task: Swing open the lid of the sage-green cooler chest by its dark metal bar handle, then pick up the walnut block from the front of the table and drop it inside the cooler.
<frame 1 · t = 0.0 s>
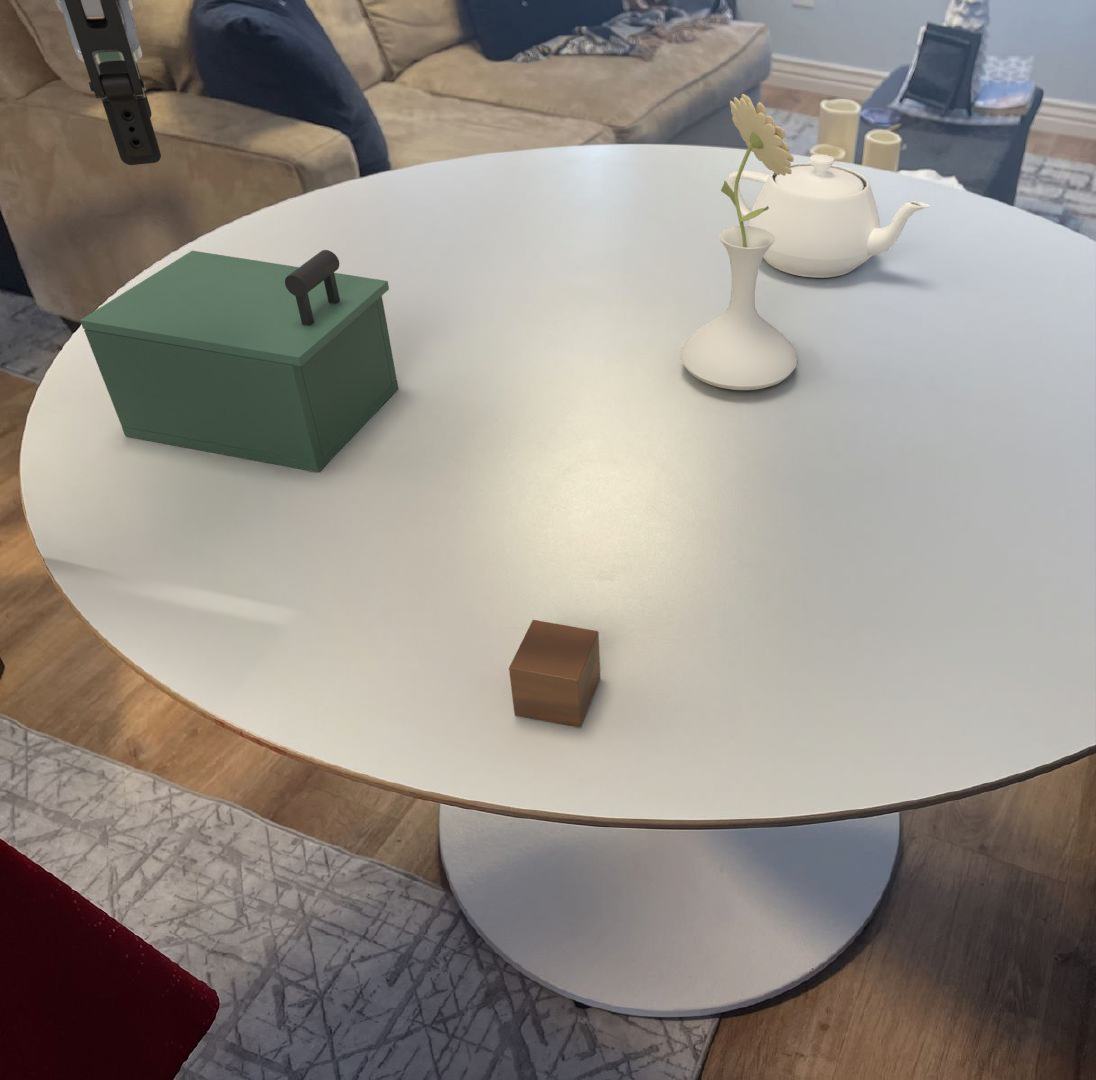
hand: (138, 140, 64), 27 cm above the table, tool pointing down, fingers open, 8 cm apart
teapot: (816, 263, 120), on the table
block: (558, 696, 65), on the table
flower in vase: (735, 369, 99), on the table
cooler: (268, 411, 89), on the table
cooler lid: (235, 279, 81), point 13 cm above the table, hinge at 0.0°
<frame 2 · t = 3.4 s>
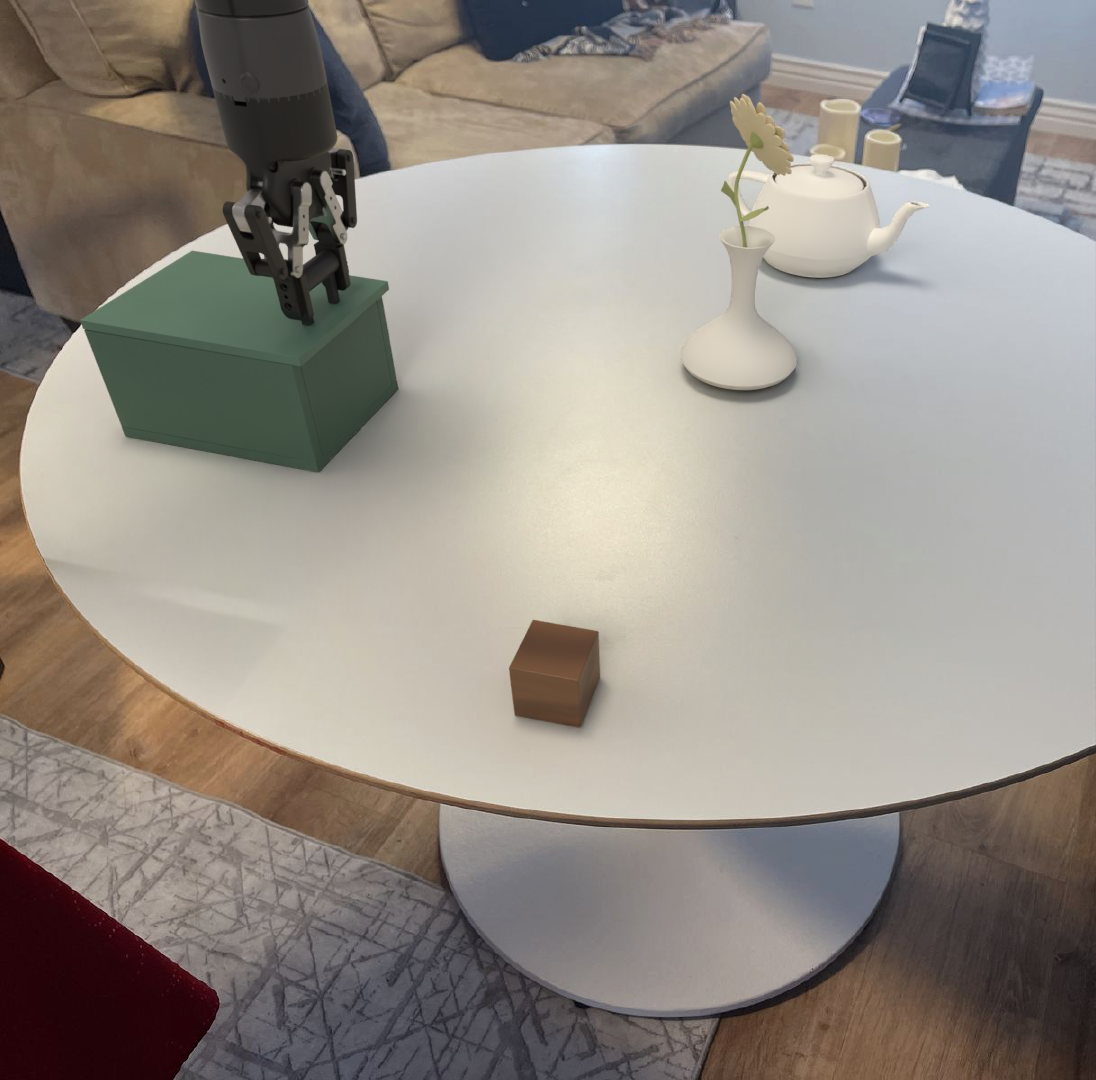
hand: (318, 301, 80), 12 cm above the table, tool pointing down, fingers closed on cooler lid, 5 cm apart
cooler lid: (235, 279, 81), point 13 cm above the table, hinge at -0.1°, touching gripper
everything else where it was.
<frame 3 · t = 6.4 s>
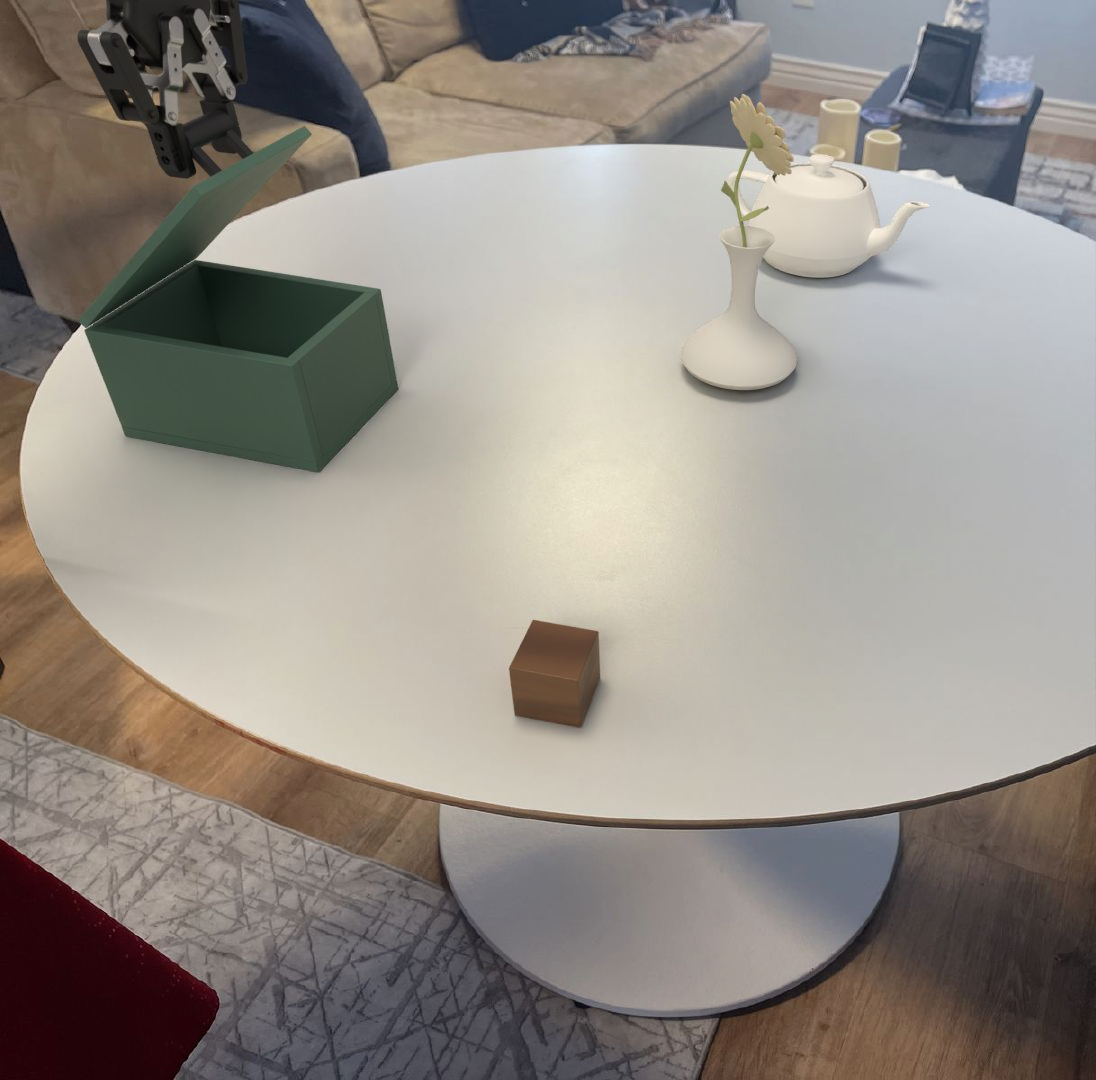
hand: (205, 162, 75), 22 cm above the table, tool pointing down, fingers closed on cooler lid, 5 cm apart
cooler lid: (173, 204, 78), point 18 cm above the table, hinge at 41.4°, touching gripper
everything else where it was.
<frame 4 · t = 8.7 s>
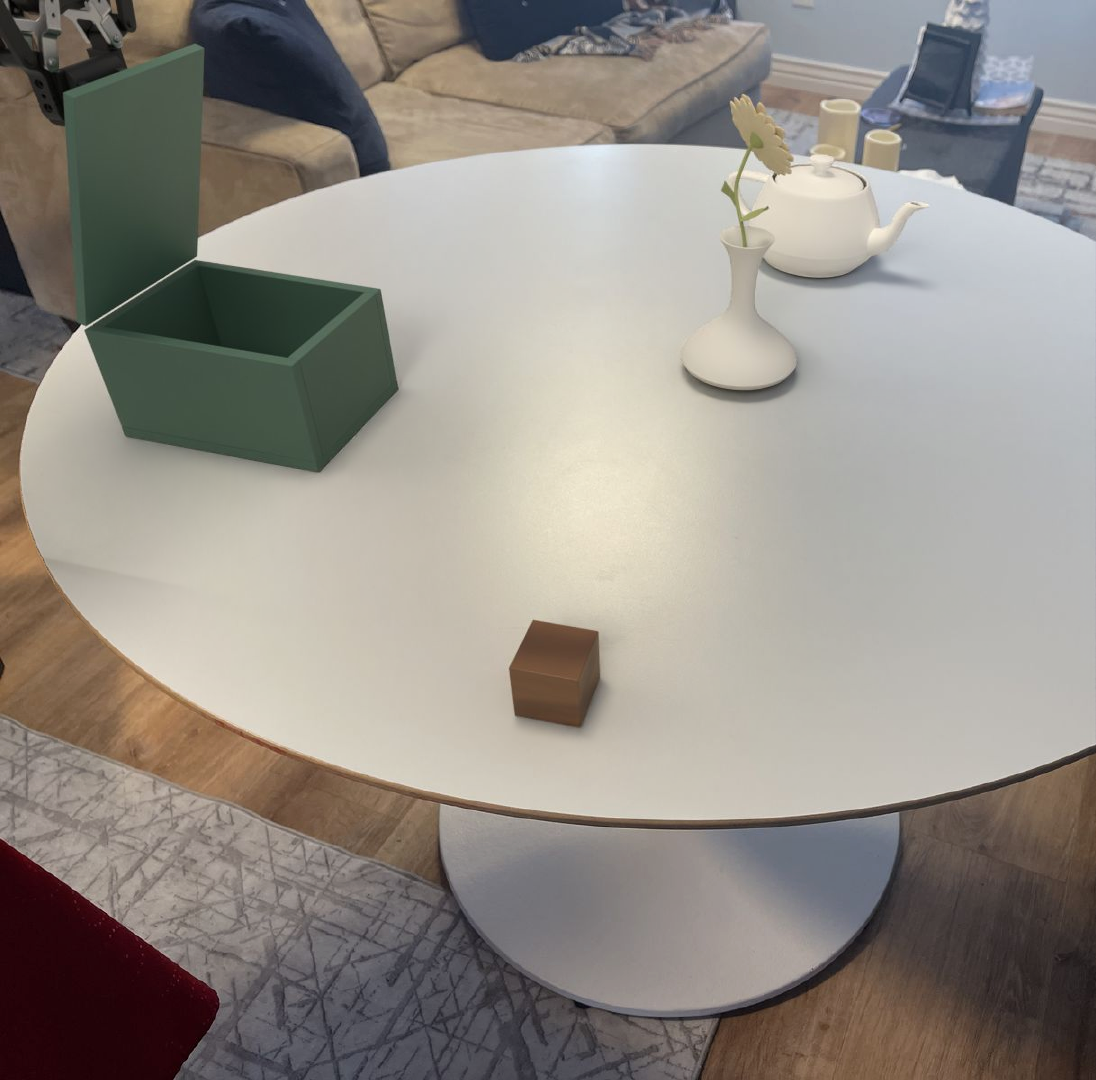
hand: (93, 111, 74), 25 cm above the table, tool pointing down, fingers closed on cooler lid, 5 cm apart
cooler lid: (113, 173, 77), point 20 cm above the table, hinge at 70.8°, touching gripper
everything else where it was.
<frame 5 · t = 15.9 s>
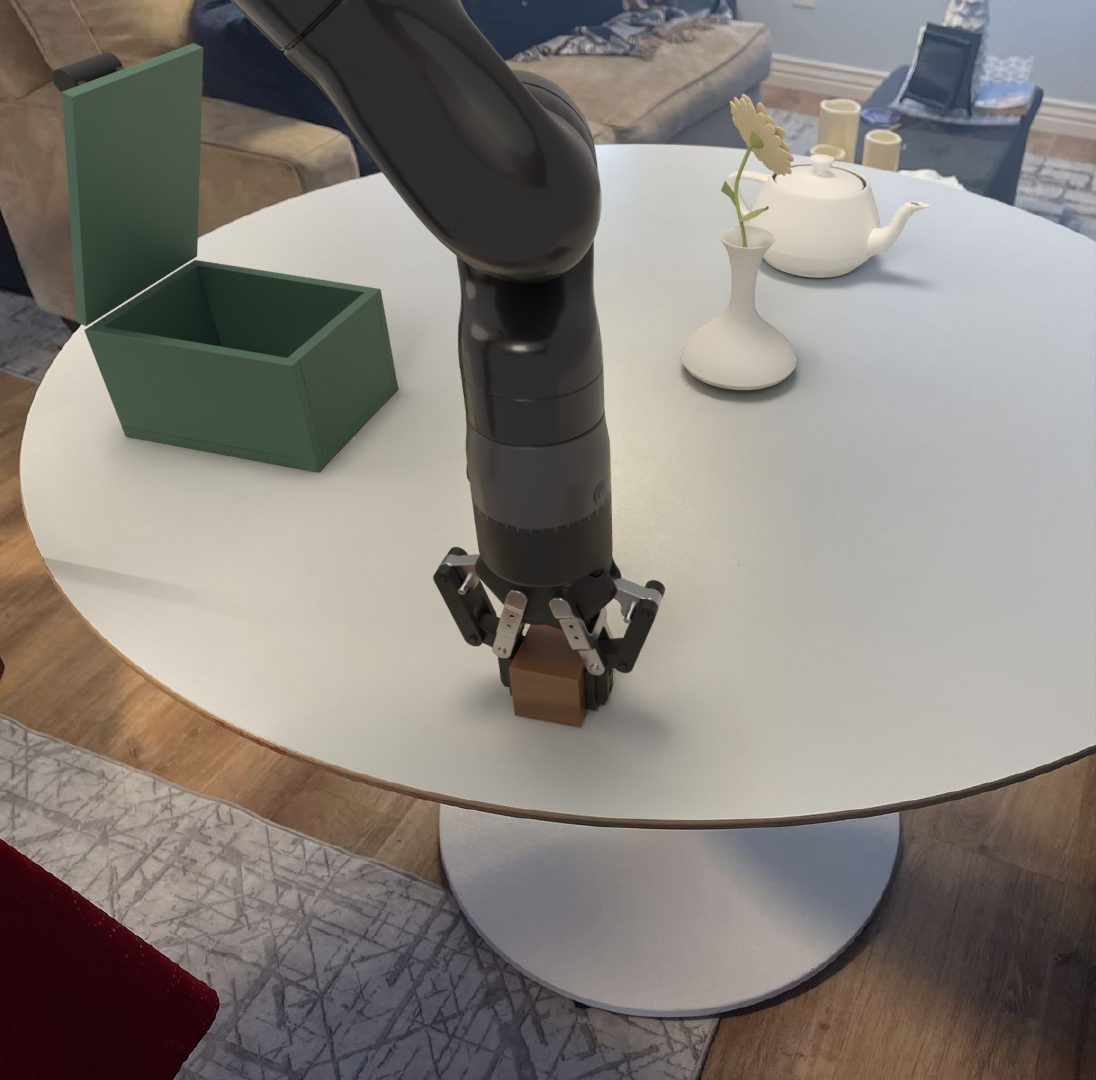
hand: (557, 693, 65), 0 cm above the table, tool pointing down, fingers closed on block, 4 cm apart
block: (558, 696, 65), on the table, touching gripper
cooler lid: (113, 173, 77), point 20 cm above the table, hinge at 71.1°
everything else where it was.
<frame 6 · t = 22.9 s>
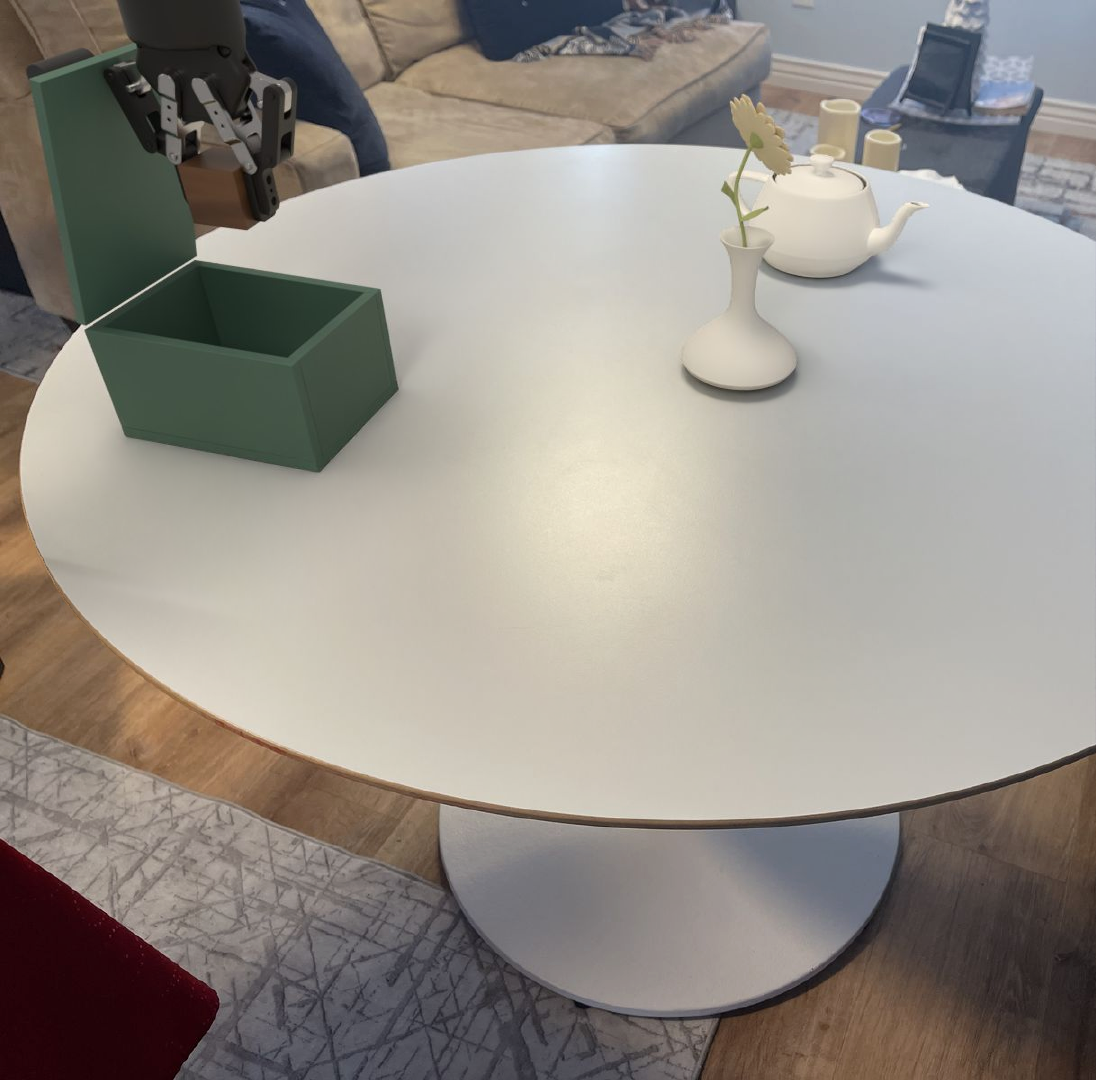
hand: (235, 212, 77), 18 cm above the table, tool pointing down, fingers closed on block, 4 cm apart
block: (236, 216, 77), point 18 cm above the table, touching gripper
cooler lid: (99, 171, 77), point 20 cm above the table, hinge at 78.0°
everything else where it was.
when the fingers open (11 cm above the table, at t = 25.3 s): block drops 10 cm, resting on cooler.
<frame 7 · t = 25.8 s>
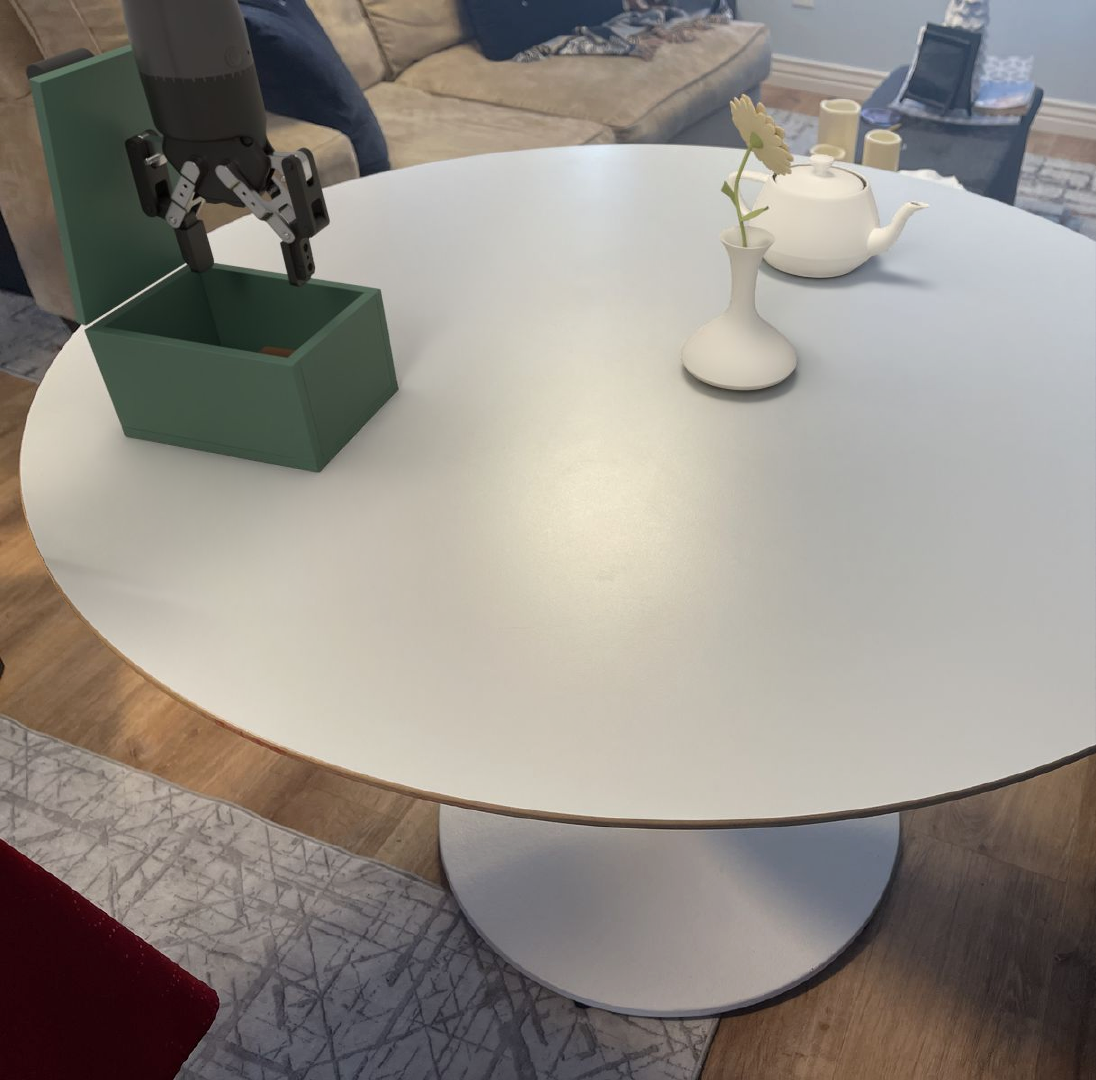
hand: (252, 275, 80), 13 cm above the table, tool pointing down, fingers open, 8 cm apart
block: (287, 405, 88), point 1 cm above the table, touching cooler
everything else where it was.
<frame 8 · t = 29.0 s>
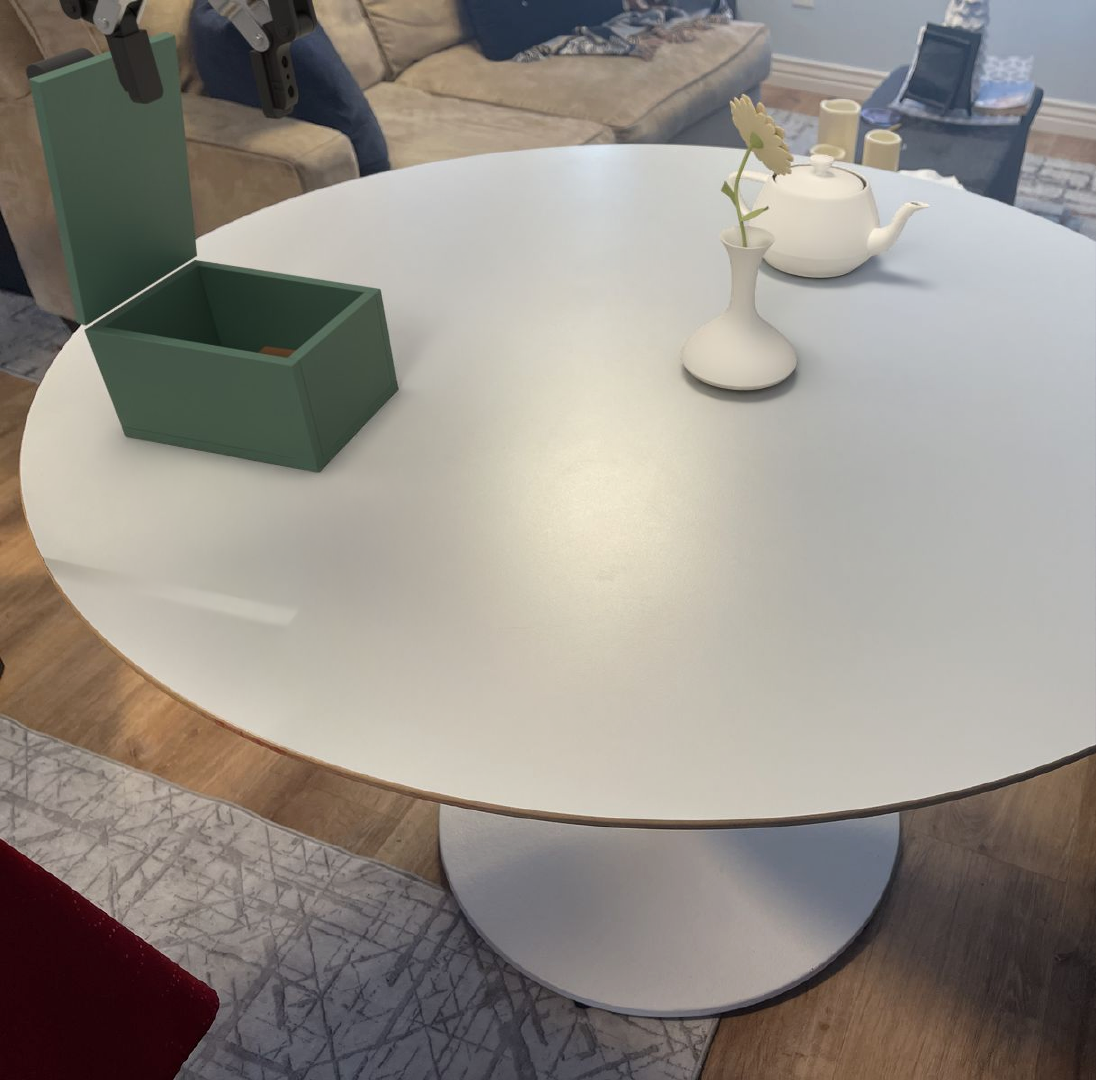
hand: (213, 107, 60), 30 cm above the table, tool pointing down, fingers open, 8 cm apart
nothing on the table moved.
at the end: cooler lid at +78° (first picture: +0°); block inside the target area in the cooler (2.1 cm from its centre), point 1.0 cm above the cooler's base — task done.
